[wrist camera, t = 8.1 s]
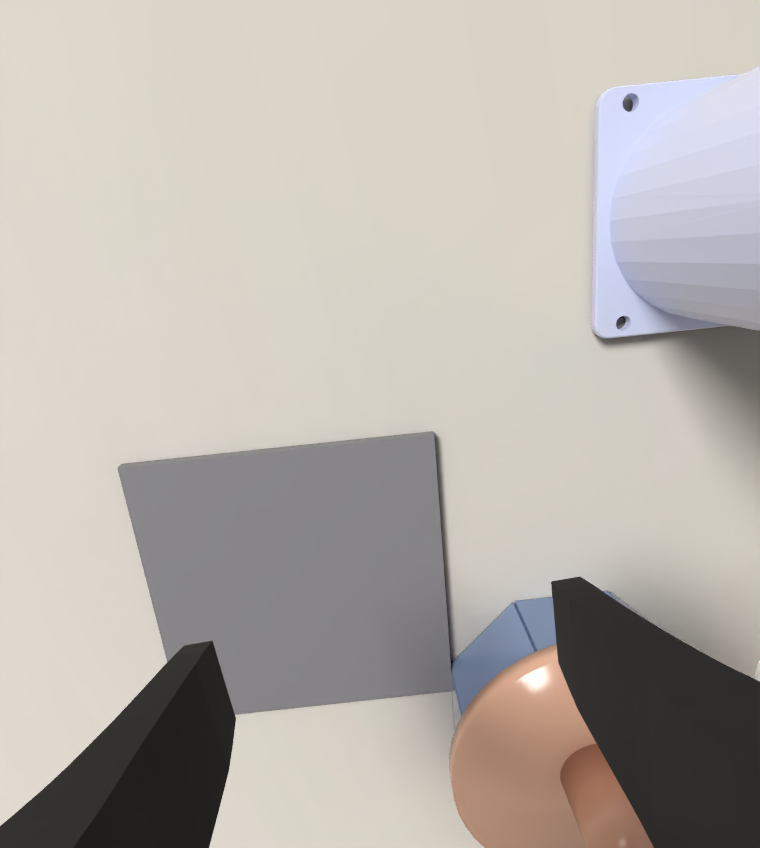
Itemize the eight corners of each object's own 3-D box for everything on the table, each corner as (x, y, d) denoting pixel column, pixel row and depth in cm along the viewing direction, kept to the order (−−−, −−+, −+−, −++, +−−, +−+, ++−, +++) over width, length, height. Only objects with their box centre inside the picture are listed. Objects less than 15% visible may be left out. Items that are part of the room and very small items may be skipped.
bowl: (677, 583, 23) (730, 638, 20) (664, 762, 26) (708, 835, 23) (445, 608, 23) (460, 666, 20) (458, 785, 26) (472, 861, 23)
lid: (623, 581, 19) (706, 683, 15) (778, 755, 22) (890, 887, 17) (390, 753, 21) (399, 890, 16) (559, 893, 24) (608, 1046, 19)
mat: (433, 431, 21) (434, 434, 21) (451, 684, 25) (452, 690, 24) (121, 463, 21) (117, 467, 21) (185, 712, 24) (182, 720, 24)
